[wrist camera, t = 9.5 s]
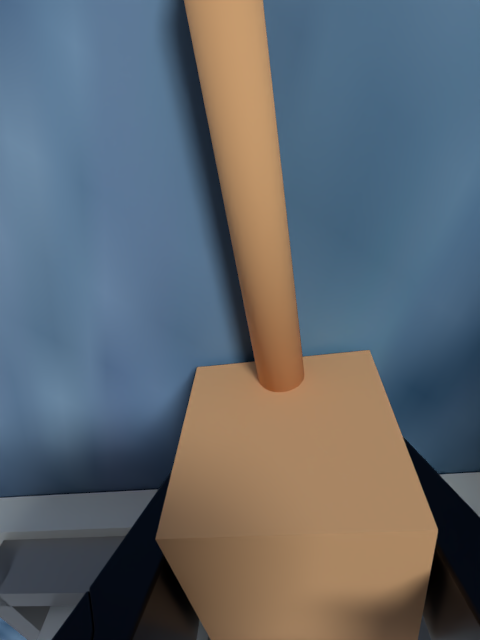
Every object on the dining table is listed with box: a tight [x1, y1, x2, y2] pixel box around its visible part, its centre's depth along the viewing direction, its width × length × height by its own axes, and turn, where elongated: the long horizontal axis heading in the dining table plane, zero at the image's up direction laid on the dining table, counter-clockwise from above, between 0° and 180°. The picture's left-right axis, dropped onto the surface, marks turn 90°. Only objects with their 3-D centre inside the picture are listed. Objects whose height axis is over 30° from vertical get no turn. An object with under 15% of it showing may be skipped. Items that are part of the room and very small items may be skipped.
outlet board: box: [0, 472, 480, 640], centre depth 15 cm, size 20×16×3 cm
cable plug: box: [155, 0, 438, 640], centre depth 6 cm, size 4×12×4 cm, turn 10°
